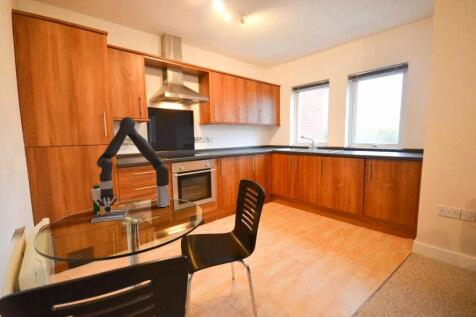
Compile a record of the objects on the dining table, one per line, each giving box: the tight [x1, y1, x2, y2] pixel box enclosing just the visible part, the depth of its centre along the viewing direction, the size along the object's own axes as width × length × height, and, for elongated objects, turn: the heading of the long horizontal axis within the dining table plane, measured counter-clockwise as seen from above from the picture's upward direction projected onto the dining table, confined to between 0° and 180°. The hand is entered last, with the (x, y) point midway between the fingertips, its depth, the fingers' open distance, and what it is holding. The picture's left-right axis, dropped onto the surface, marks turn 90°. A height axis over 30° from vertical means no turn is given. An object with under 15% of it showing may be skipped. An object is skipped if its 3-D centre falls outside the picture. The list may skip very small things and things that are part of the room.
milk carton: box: [90, 184, 106, 215], centre depth 156 cm, size 9×9×20 cm
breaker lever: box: [98, 206, 107, 216], centre depth 146 cm, size 4×3×6 cm
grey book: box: [91, 208, 128, 220], centre depth 147 cm, size 19×13×2 cm
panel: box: [90, 209, 130, 224], centre depth 148 cm, size 20×13×2 cm, turn 107°
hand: (108, 211), depth 147 cm, fingers closed
